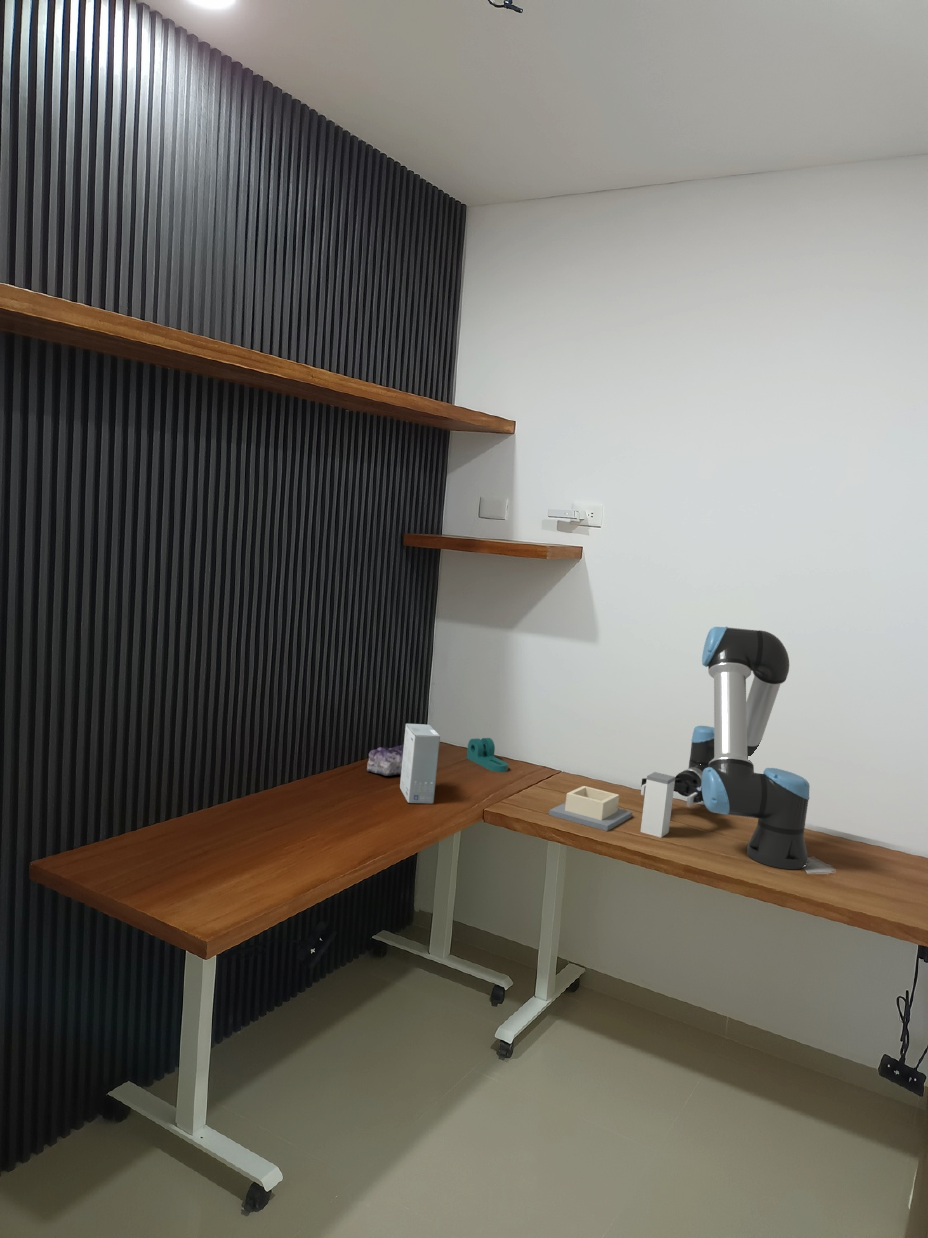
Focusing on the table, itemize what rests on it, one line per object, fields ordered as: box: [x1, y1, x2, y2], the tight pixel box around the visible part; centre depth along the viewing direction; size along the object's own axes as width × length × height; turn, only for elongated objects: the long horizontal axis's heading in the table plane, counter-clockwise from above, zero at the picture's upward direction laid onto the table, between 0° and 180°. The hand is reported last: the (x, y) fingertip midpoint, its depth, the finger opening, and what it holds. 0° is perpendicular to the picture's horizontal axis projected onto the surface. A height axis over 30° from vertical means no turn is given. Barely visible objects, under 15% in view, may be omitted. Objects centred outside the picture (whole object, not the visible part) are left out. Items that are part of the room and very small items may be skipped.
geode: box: [366, 744, 404, 777], centre depth 286 cm, size 20×12×10 cm, turn 128°
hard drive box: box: [399, 723, 441, 805], centre depth 262 cm, size 16×8×20 cm, turn 14°
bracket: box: [466, 737, 509, 773], centre depth 305 cm, size 18×7×8 cm, turn 31°
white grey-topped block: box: [640, 771, 676, 838], centre depth 249 cm, size 6×6×16 cm
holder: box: [548, 785, 633, 832], centre depth 259 cm, size 18×18×6 cm
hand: (665, 796), depth 255 cm, fingers open, 13 cm apart
